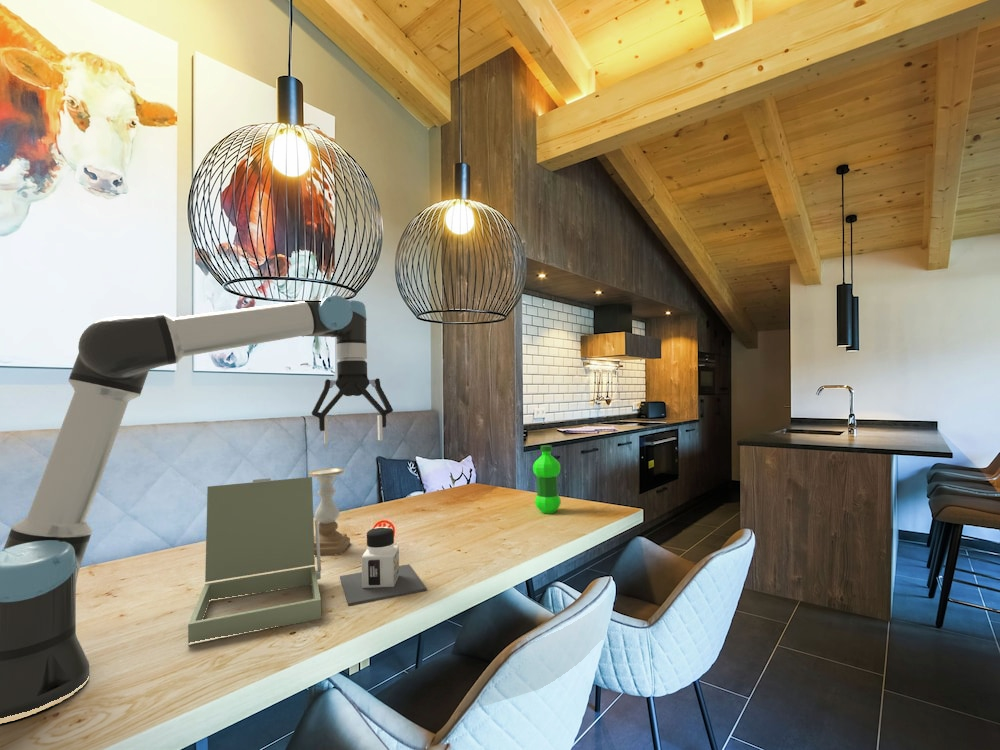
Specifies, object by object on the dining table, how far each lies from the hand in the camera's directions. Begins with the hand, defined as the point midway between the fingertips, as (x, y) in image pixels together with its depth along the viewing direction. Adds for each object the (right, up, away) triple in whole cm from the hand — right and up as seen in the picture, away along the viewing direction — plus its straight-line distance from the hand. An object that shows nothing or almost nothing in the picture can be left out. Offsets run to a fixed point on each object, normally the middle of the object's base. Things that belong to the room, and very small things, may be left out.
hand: (353, 442), depth 128 cm
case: (-15, -35, -17) cm, 42 cm away
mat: (+9, -34, -6) cm, 36 cm away
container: (+9, -34, -6) cm, 36 cm away
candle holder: (-14, -36, +22) cm, 44 cm away
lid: (-21, -20, -6) cm, 30 cm away
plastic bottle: (+56, -35, +59) cm, 89 cm away
